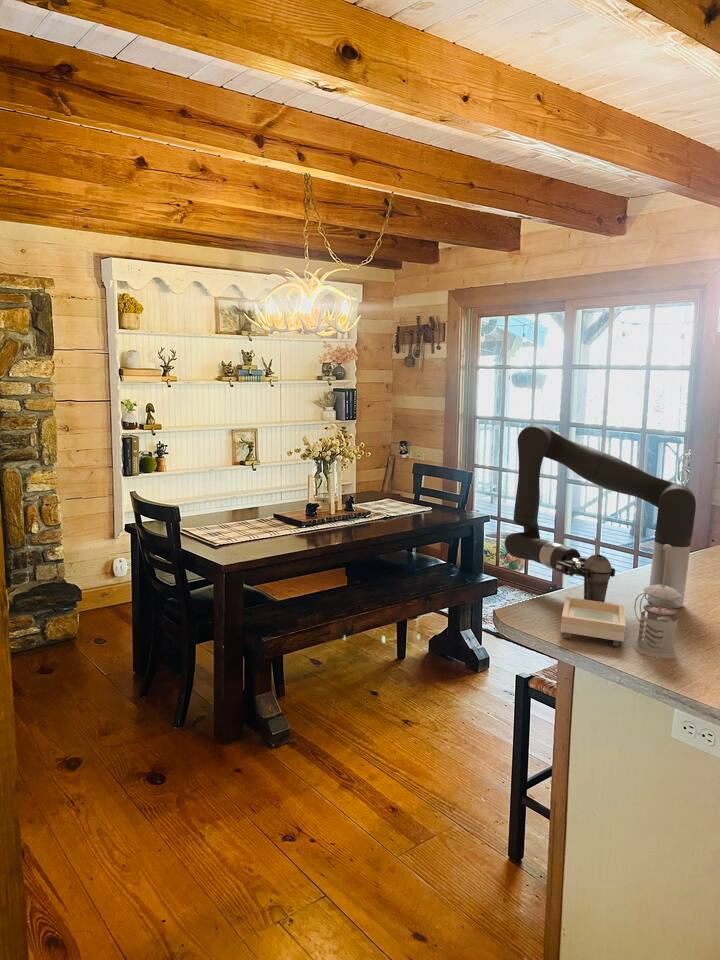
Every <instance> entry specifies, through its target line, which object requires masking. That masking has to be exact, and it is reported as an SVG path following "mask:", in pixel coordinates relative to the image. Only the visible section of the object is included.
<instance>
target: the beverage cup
mask: <svg viewBox="0 0 720 960" xmlns="http://www.w3.org/2000/svg"><path fill="white" fill-rule="evenodd" d="M597 540H598V538H597V537H594V554H592V555H591V556H589V557H587V560H586V561H585V564H584V567H583V568H586V569H589V570H591V571H593V578H592V579H588V578H585V577H583V599H585V600H592V601H599V602H606V595H607V590H608V586H609V580H610V579H611V573H612V570H611V567H612V564H611V562H610V560H609V558H607V557H606V556H605V555H603V554H598V541H597Z"/></svg>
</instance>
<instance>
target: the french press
mask: <svg viewBox="0 0 720 960" xmlns="http://www.w3.org/2000/svg"><path fill="white" fill-rule="evenodd" d="M663 549H664V550H667V551H668V550H672V547H671V546H670V545H668V544H665V545H664V546H663ZM667 551H666V559H667ZM666 559H665V567H664V576H665V568H666ZM664 576H663V584H662V585H651V586H649V585H648V586H646V587H644V588H643V589H642V591H643V592H642V593H640V594H639V595H637V597H636V598H635V602H634V607H633V608H634V614H635V617H636V619H637V620H638V622H639V629H638V630H639V631H638V637H637V638H638V639H637V641H636V642H634V643H633V645H632V647H633V650H635V651H636V652H638V653H640V654H642V655H645V656H648V657H652V658H657V659H673V658H674V659H675V658H677V657H678V656H679V652H678V651H677V650H676V649H675V644H676V641H675V640H676V635H677V628H678V622H679V621H678V620H679V618H678V617H677V616H676V615H677V614H678V612H677V610H676V609H675V608H670V607H666V606H663V605H662V606H661V602H662V599H665V600H677V599H679V598H680V597H681V594H680V593H679V592H677V591H676V590H675V589H673V588H671V587H668V586H665V585H664ZM648 595H649V596H650V598H651V596H652V597H655V598H659V599H661V601H660V605H655V604H652V603H649V604H644V606H642V601H643V599H645V600H647V601H648V599H650V598H648V597H647V596H648ZM640 596H642V597H641V598H640V600H639V601H640V603H639V610H640V611H639V612H640V618H639V617H638V615H637V611H636V606H637V605H636V604H637V601H638V599H639V597H640ZM642 608H643V611H642ZM646 612H647V615H646ZM661 617H662V618H668V619H670V620H671V621H670V620H668V619H658V618H661ZM644 629H645V630H644Z"/></svg>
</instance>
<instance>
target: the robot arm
mask: <svg viewBox="0 0 720 960" xmlns="http://www.w3.org/2000/svg"><path fill="white" fill-rule="evenodd" d="M517 455H518V477H517V478H518V479H517V487H516V494H515V504H514V511H513V521H514V523H515V524H516V525H519V526H521V527H522V528H523V532H521V531H519V532H512V533H510V534H508V535H507V536H506V537H505V539H504V548H505V550H506V552H507V553H508V554H509V555H510V556H512V557H514V558H518V559H522V560H527V561H532V562H536V563H538V564H540V565H543V566H545V567H547V569H548V568H549V569H550V570H552V571H555V572H558V573H561V574H563V575H564V576H565V575H566V576H570V577H574V576H577V577H582V578H584V577H585V578H588V579H592V578H593V571H591V570H589V569H586V568H583V567H584V564H585V561H586V560H587V559H588V557H585V556H584V557H583V556H581V554H580V552H579V550H578V549H576V548H573V547H570V546H567V545H564V544H562V543H559V542H553V541H550V540H547V539H544V538H541V537H540V528H539V521H538V517H539V510H540V501H541V498H540V497H541V493H540V492H541V491H540V489H541V487H540V482H541V481H540V477H541V469H542V464H543V461H544V458H546V459H549V460H551V461H552V460H553V461H554V462H556V463H559V464H562V465H563V466H565V467H566V468H568V469H569V470H571V471H572V472H574V473H575V474H576V475H578V476H579V477H581V478H582V479H584V480H586V481H587V482H590V483H592V484H594V485H597V486H599V487H601V488H603V489H605V490H609V491H613V492H615V493H620V494H624V495H628V496H630V497H635V498H638V499H641V500H642V501H645V502H647V503H649V504H650V505H653V506H654V507H656V508H657V515H656V516H657V517H656V524H655V530H654V531H655V532H654V542H653V551H652V560H651V567H650V568H651V570H650V577H649V585H648V586H651V585H662V584H663V576H664V567H665V559H666V551H667V550H664V549H663V546H664V545H665V544H668V545H670V546H671V547H672V550H668V551H667V559H666V568H665V576H664V585H665V586H668V587H671V588H673V589H675V590H676V591H677V592H679V593H680V594H681V597H680V598H679V599H677V600H665V599H662V602H661V606H662V605H663V606H666V607H670V608H672V609H678V608H682V607H684V602H685V595H686V594H685V593H686V587H687V586H686V585H687V578H688V569H689V561H690V552H691V545H692V538H693V534H694V532H693V531H694V525H695V519H696V518H695V517H696V507H697V502H696V501H697V500H696V496H695V494H694V492H693V491H692V490H691V489H690V488H689V487H687V486H685V485H683V484H679V483H676V482H672V481H669V480H666V479H663V478H660V477H657V476H655V475H651V474H649V473H647V472H646V471H645V470H642V469H640V468H639V467H636V466H635V465H632V464H630V463H629V462H626V461H624V460H622V459H620V458H618V457H615V456H613V455H612V454H609V453H606V452H604V451H601V450H598V449H596V448H593V447H591V446H588V445H585V444H582V443H578V442H575V441H573V440H571V439H568V438H567V437H564V436H563V435H561V434H558V432H555V431H553V430H552V429H550V428H548V427H547V426H544V425H543V424H538V423H537V424H536V423H535V424H531V425H528V426H526V427H524V428H523V429H521V431H520V432H519V434H518V436H517ZM611 570H612V573H611V576H610V578H613V577H615V575H616V569H615V568H614V567H612V566H611ZM647 598H650V596H649V595H647ZM660 601H661V599H659V598H655V597H652V596H651V598H650V599H647V602H649V604H654V605H660Z"/></svg>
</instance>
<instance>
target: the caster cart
mask: <svg viewBox="0 0 720 960" xmlns="http://www.w3.org/2000/svg"><path fill="white" fill-rule="evenodd" d="M562 608H563V609H562V613H561V621H560V630H559V631H560V632H561V633H563V639H564V640H565V639H566V640H570V635H571V634H574V635H580V636H586V637H591V638H599V639H603V640H604V639H605V640H611V641H613V642H612V647H615V648H619V646H620V642H624V640H625V633H626V631H625V630H626V616H625V605H624V604H621V603H619V604H618V603H612V602H606V601H604V602H599V601H592V600H585V599H584V598H577V597H570V596H565V598H564V603H563V607H562Z"/></svg>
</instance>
